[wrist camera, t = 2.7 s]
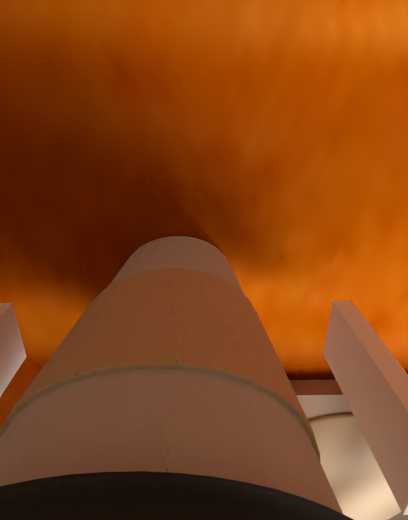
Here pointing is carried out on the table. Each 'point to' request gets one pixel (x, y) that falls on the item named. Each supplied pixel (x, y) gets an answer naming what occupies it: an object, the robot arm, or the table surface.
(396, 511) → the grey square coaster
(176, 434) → the coffee cup
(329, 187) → the table surface
